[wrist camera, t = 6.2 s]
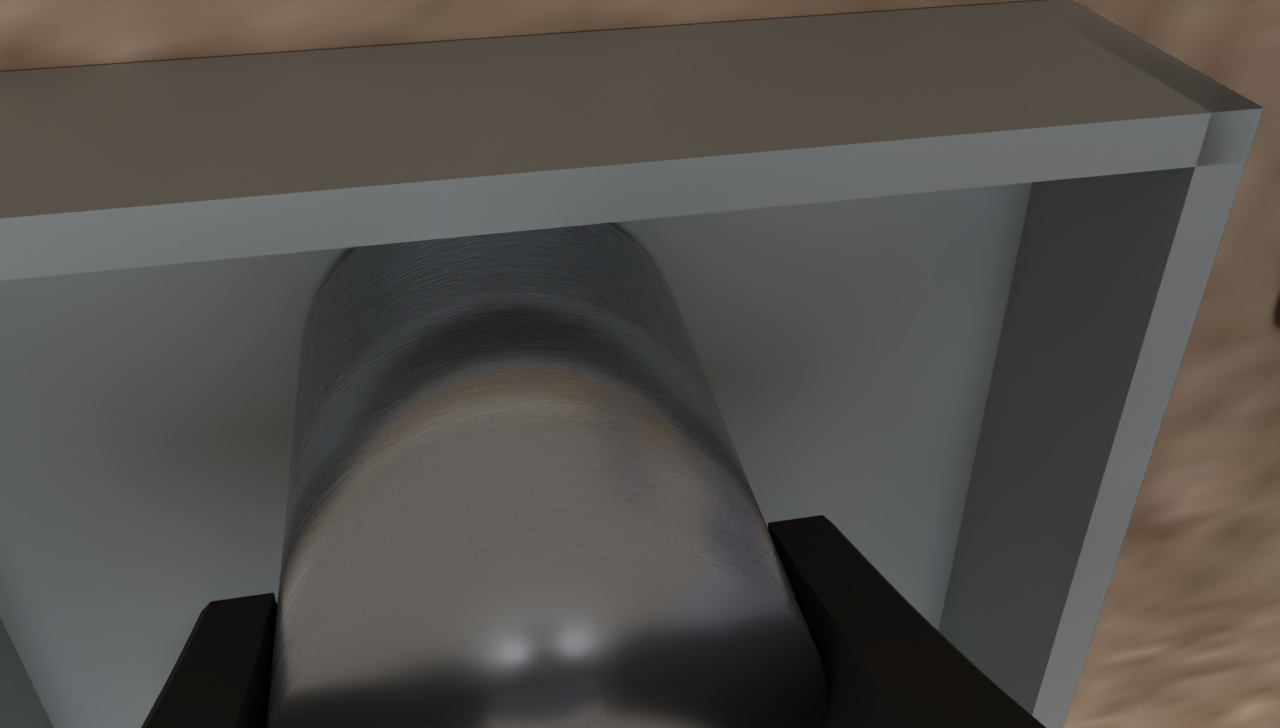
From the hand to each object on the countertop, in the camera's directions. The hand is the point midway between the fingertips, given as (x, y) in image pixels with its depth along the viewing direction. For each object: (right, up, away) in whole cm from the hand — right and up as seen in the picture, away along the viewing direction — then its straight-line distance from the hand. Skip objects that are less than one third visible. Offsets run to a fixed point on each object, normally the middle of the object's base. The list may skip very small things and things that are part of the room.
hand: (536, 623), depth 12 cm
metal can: (-1, +3, +3) cm, 4 cm away
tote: (-1, 0, +6) cm, 6 cm away
